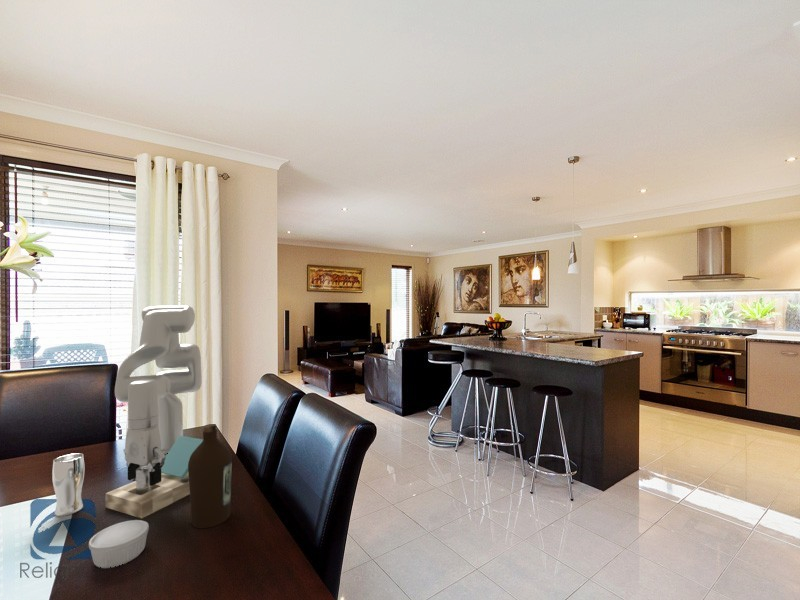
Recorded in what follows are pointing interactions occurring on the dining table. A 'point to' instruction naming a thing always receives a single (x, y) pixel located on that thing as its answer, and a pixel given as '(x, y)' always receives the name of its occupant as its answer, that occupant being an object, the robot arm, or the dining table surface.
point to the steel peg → (143, 480)
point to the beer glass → (68, 483)
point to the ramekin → (118, 543)
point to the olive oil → (210, 480)
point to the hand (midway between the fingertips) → (144, 480)
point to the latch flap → (180, 456)
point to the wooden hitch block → (148, 496)
